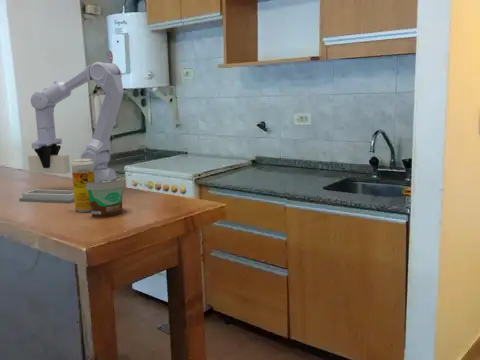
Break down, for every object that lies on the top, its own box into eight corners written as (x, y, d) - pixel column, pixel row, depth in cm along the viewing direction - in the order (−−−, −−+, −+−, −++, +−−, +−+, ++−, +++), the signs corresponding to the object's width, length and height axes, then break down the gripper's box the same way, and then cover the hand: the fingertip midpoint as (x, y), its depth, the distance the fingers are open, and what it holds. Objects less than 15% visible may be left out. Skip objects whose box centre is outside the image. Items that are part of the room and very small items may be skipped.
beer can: (77, 213, 142) (73, 162, 139) (73, 209, 147) (69, 159, 144) (98, 210, 145) (95, 160, 142) (94, 206, 150) (90, 157, 147)
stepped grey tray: (85, 196, 164) (84, 190, 163) (70, 203, 155) (69, 196, 155) (36, 195, 168) (35, 188, 168) (19, 201, 159) (18, 194, 159)
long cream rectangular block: (70, 172, 171) (68, 155, 170) (65, 173, 168) (64, 156, 167) (34, 171, 174) (33, 154, 173) (29, 172, 172) (27, 155, 170)
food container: (103, 220, 134) (100, 184, 132) (88, 217, 137) (85, 182, 135) (135, 210, 144) (133, 177, 142) (120, 208, 148) (118, 175, 146)
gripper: (48, 126, 176) (51, 163, 179) (22, 129, 163) (26, 170, 165) (65, 126, 175) (68, 164, 177) (40, 129, 161) (44, 170, 163)
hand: (49, 167), depth 171 cm, fingers closed on long cream rectangular block, 3 cm apart
